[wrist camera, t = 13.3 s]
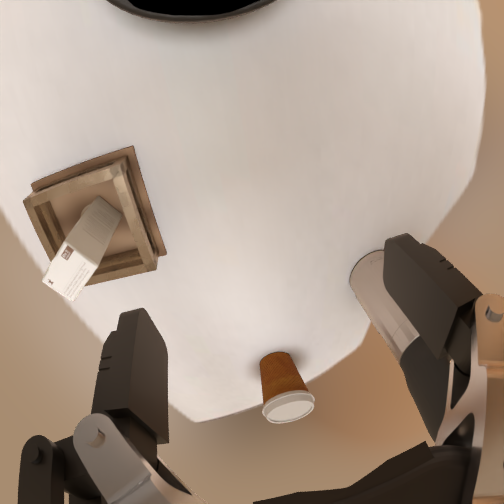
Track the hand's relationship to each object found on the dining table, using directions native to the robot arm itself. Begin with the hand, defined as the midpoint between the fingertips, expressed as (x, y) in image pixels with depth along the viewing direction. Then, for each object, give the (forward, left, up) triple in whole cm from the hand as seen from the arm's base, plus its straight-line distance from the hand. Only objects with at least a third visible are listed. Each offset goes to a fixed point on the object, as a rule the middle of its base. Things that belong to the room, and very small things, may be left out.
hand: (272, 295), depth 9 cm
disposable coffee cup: (-43, -3, -28) cm, 52 cm away
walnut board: (-6, +17, -28) cm, 33 cm away
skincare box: (-6, +17, -27) cm, 33 cm away
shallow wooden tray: (-6, +17, -28) cm, 33 cm away
